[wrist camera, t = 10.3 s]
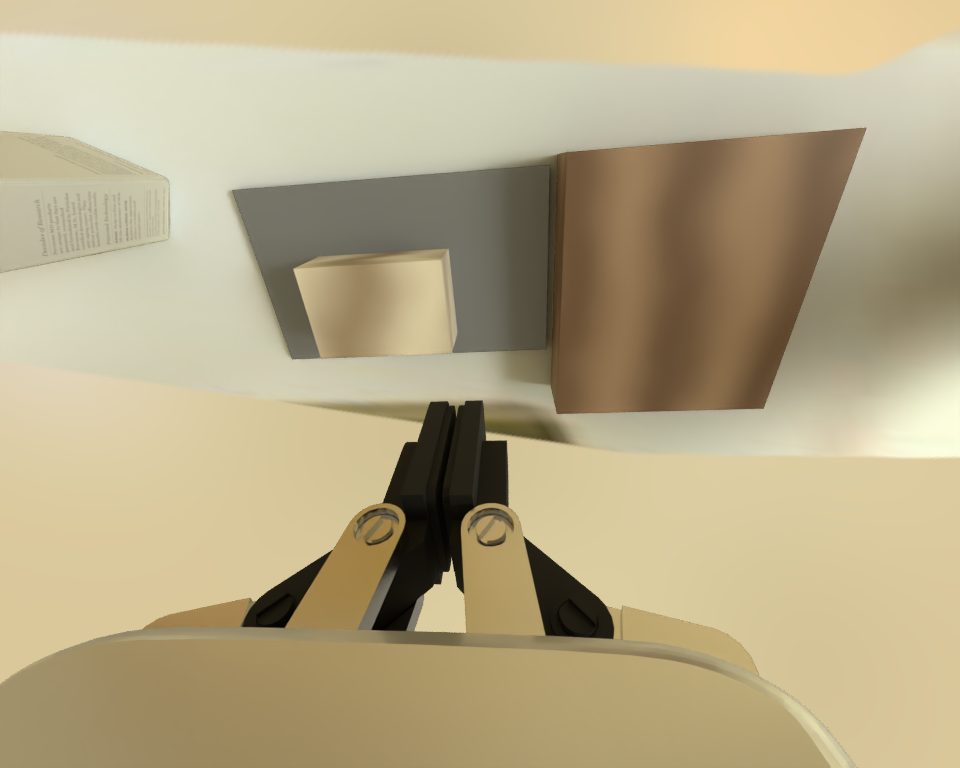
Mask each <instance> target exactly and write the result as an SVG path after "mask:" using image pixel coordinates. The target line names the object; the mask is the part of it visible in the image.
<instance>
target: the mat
mask: <svg viewBox="0 0 960 768" xmlns="http://www.w3.org/2000/svg"><path fill="white" fill-rule="evenodd" d="M549 172H550V165H542V166H529V167H517V168H504V169H492V170H479V171H467V172H454V173H442V174H429V175H416V176H404V177H391V178H379V179H366V180H354V181H341V182H329V183H316V184H304V185H291V186H279V187H266V188H254V189H241V190H232V191H233V194H234V197H235V199H236V202H237V205H238V208H239V211H240V214H241V216H242V219H243V222H244V225H245V228H246V230H247V233H248V236H249V239H250V242H251V245H252V247H253V250H254V253H255V256H256V259H257V262H258V264H259V267H260V270H261V273H262V276H263V278H264V281H265V284H266V287H267V290H268V293H269V295H270V298H271V301H272V304H273V307H274V310H275V312H276V315H277V318H278V321H279V324H280V326H281V329H282V332H283V335H284V338H285V341H286V343H287V346H288V349H289V352H290V355H291V358H292V359H313V358H321V357H320V354H319V350H318V347H317V344H316V341H315V337H314V334H313V331H312V328H311V325H310V321H309V318H308V315H307V312H306V308H305V305H304V302H303V299H302V296H301V292H300V289H299V286H298V283H297V280H296V276H295V273H294V270H293V269H294V268H296V267H298V266H300V265H302V264H304V263H307V262H309V261H311V260H313V259H315V258H317V257H321V256H337V255H352V254H368V253H384V252H400V251H416V250H432V249H448V248H449V256H450V266H451V275H452V285H453V294H454V304H455V313H456V323H457V332H458V333H457V336H456V340H455V344H454V347H453V351H452V353H463V352H488V351H513V350H538V349H546V324H547V273H548V222H549Z"/></svg>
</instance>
